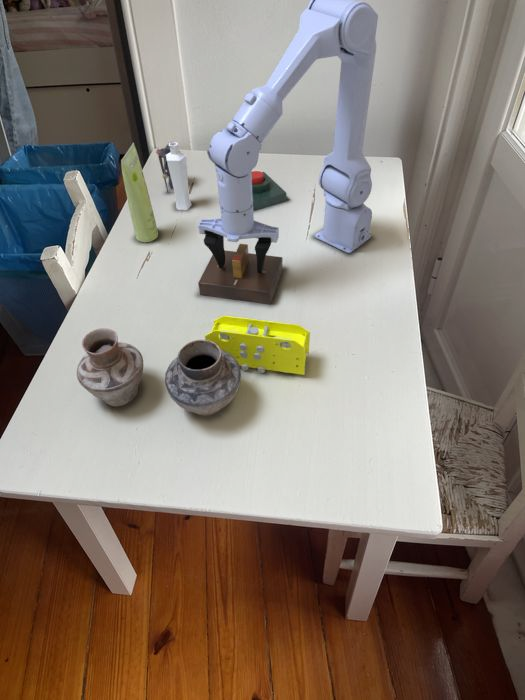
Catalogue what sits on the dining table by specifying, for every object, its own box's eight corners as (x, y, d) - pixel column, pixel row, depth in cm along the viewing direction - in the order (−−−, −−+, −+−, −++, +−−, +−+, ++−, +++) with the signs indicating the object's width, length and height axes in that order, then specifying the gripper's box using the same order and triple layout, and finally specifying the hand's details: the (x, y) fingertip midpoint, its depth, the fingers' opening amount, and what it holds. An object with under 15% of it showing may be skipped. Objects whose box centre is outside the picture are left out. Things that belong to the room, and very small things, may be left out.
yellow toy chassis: (208, 366, 81) (202, 331, 75) (217, 342, 85) (212, 307, 78) (303, 380, 78) (305, 344, 72) (308, 354, 82) (310, 319, 76)
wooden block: (241, 260, 96) (239, 242, 92) (248, 261, 95) (247, 243, 92) (233, 277, 92) (231, 259, 89) (241, 278, 92) (240, 260, 89)
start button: (266, 182, 115) (266, 175, 114) (252, 186, 114) (252, 179, 113) (259, 176, 118) (259, 169, 116) (246, 180, 116) (245, 173, 115)
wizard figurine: (165, 180, 125) (156, 133, 116) (187, 179, 125) (180, 132, 116) (162, 197, 119) (153, 149, 110) (185, 196, 119) (177, 148, 110)
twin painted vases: (102, 364, 82) (81, 312, 73) (248, 376, 79) (244, 323, 70) (76, 419, 74) (49, 368, 66) (236, 434, 72) (230, 383, 63)
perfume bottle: (194, 201, 117) (185, 139, 106) (191, 210, 114) (181, 148, 103) (176, 200, 118) (165, 139, 107) (172, 210, 115) (160, 147, 104)
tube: (163, 239, 107) (145, 152, 92) (142, 247, 105) (120, 160, 91) (152, 227, 110) (133, 142, 96) (132, 235, 108) (109, 149, 94)
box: (286, 200, 116) (286, 185, 113) (248, 211, 113) (248, 196, 110) (264, 179, 124) (263, 164, 121) (228, 189, 121) (226, 174, 118)
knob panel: (282, 269, 98) (282, 256, 96) (270, 304, 91) (270, 291, 89) (216, 261, 101) (215, 248, 98) (200, 294, 94) (197, 282, 91)
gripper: (188, 212, 82) (198, 275, 92) (272, 220, 79) (273, 285, 89) (202, 191, 87) (210, 253, 97) (281, 199, 84) (281, 262, 94)
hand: (241, 267), depth 93 cm, fingers open, 7 cm apart
